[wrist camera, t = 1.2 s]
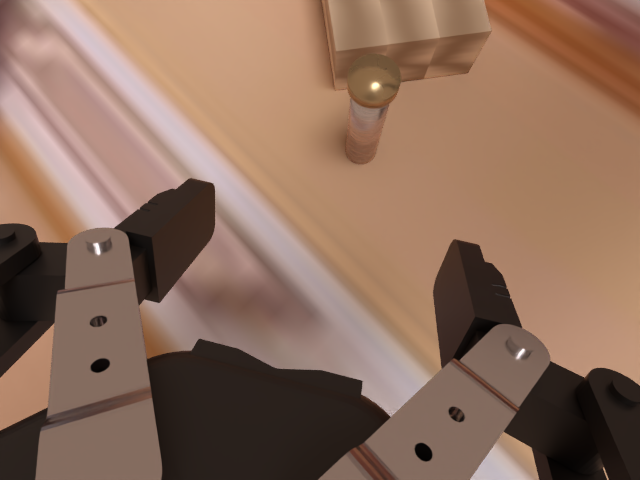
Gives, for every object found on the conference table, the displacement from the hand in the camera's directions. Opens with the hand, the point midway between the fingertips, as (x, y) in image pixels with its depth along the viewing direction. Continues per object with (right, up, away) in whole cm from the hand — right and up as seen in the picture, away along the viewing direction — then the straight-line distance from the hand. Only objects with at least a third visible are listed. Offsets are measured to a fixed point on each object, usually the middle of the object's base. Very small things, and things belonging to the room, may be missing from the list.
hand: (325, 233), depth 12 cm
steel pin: (+3, +7, +20) cm, 21 cm away
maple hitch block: (+6, +20, +22) cm, 30 cm away
